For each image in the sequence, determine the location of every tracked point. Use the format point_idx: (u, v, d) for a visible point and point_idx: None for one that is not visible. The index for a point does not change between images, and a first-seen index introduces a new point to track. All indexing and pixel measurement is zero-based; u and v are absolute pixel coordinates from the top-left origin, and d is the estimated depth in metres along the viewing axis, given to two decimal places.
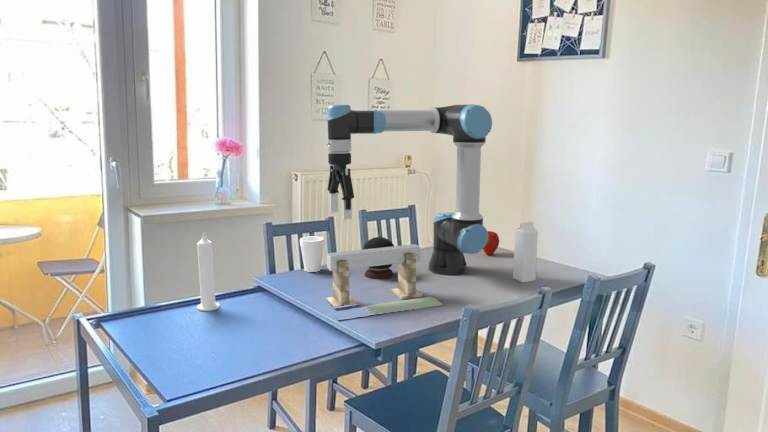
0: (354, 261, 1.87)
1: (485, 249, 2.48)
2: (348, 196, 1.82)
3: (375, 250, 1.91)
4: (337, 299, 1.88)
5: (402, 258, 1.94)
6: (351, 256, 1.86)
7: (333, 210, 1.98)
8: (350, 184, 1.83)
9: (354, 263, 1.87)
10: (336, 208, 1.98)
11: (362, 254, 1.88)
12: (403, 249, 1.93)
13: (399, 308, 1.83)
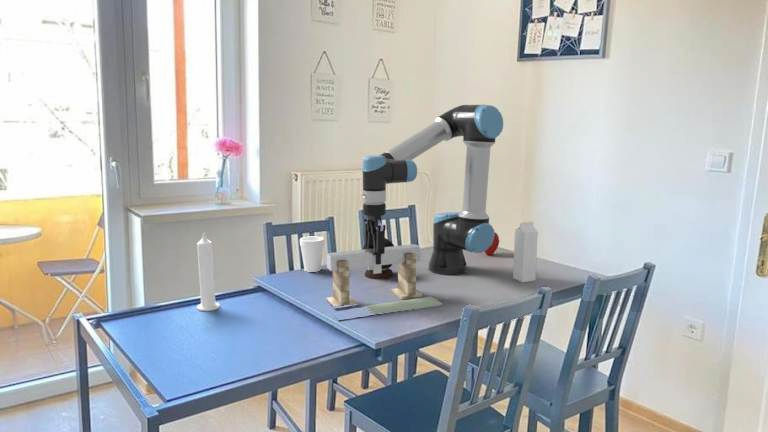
0: (354, 261, 1.87)
1: None
2: (379, 253, 1.86)
3: None
4: (337, 299, 1.88)
5: (402, 258, 1.94)
6: (351, 256, 1.86)
7: (371, 268, 1.94)
8: (383, 241, 1.85)
9: (354, 263, 1.87)
10: None
11: (362, 254, 1.88)
12: (403, 249, 1.93)
13: (399, 308, 1.83)
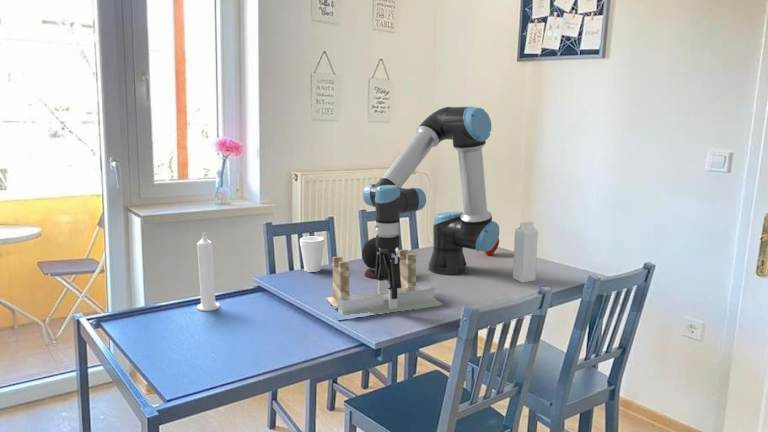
0: (367, 305, 1.79)
1: None
2: (395, 287, 1.76)
3: (388, 293, 1.83)
4: (337, 299, 1.88)
5: (416, 300, 1.86)
6: (363, 300, 1.78)
7: None
8: (398, 274, 1.76)
9: (367, 307, 1.79)
10: None
11: (375, 298, 1.80)
12: (417, 291, 1.86)
13: (399, 308, 1.83)
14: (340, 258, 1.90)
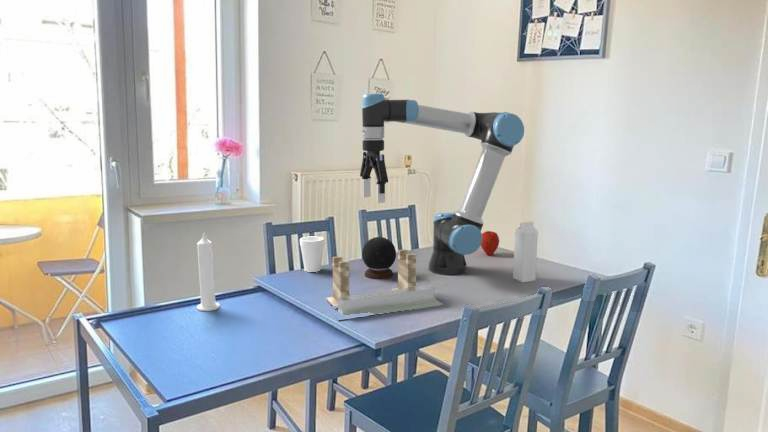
0: (367, 305, 1.79)
1: (485, 249, 2.48)
2: (382, 180, 1.91)
3: (388, 293, 1.83)
4: (337, 299, 1.88)
5: (416, 300, 1.86)
6: (363, 300, 1.78)
7: (365, 195, 2.08)
8: (384, 169, 1.93)
9: (367, 307, 1.79)
10: (368, 193, 2.08)
11: (375, 298, 1.80)
12: (417, 291, 1.86)
13: (399, 308, 1.83)
14: (340, 258, 1.90)
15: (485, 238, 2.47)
